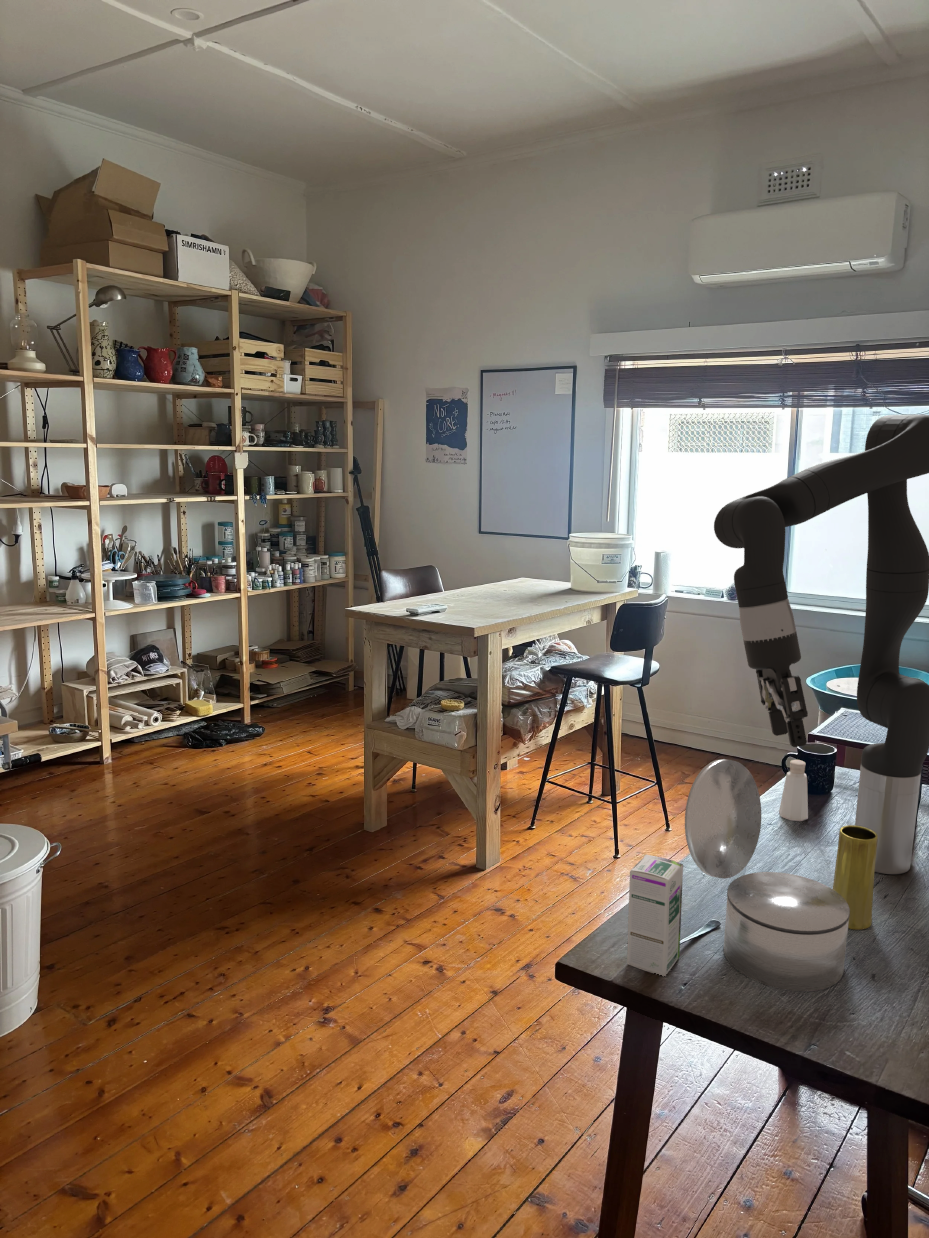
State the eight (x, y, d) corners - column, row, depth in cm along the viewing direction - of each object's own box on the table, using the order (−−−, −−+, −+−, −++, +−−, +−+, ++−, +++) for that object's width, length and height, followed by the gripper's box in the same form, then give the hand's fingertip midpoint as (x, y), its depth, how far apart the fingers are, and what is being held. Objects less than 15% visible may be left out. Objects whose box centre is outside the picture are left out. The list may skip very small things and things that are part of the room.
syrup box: (665, 978, 123) (671, 879, 120) (624, 964, 126) (629, 868, 123) (679, 957, 128) (685, 862, 125) (640, 945, 131) (644, 852, 128)
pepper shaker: (804, 823, 171) (809, 768, 169) (775, 817, 174) (779, 762, 172) (811, 813, 176) (816, 760, 174) (782, 807, 179) (786, 754, 176)
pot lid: (767, 858, 138) (751, 855, 140) (754, 748, 137) (738, 747, 139) (699, 894, 127) (683, 890, 129) (685, 775, 126) (669, 773, 129)
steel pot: (763, 914, 139) (768, 861, 137) (865, 961, 127) (872, 903, 125) (700, 952, 129) (704, 895, 127) (804, 1007, 117) (810, 944, 115)
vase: (875, 932, 134) (885, 843, 132) (832, 927, 136) (840, 839, 133) (866, 911, 140) (875, 825, 137) (824, 907, 142) (832, 821, 139)
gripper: (811, 631, 126) (832, 745, 127) (779, 624, 140) (799, 726, 141) (757, 642, 126) (778, 755, 127) (731, 634, 141) (751, 735, 142)
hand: (789, 739), depth 134 cm, fingers open, 8 cm apart
